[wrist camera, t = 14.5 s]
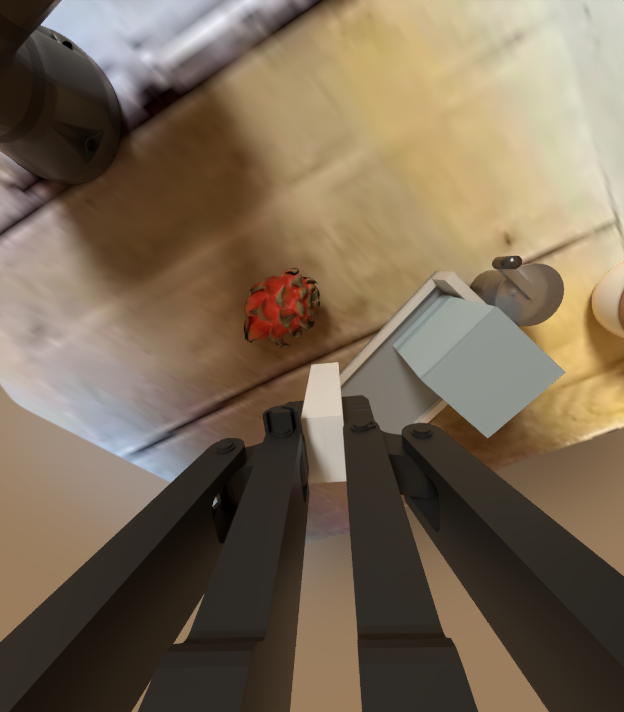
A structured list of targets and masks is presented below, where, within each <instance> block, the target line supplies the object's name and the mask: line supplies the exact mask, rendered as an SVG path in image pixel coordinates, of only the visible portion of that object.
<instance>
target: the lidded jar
mask: <svg viewBox="0 0 624 712" xmlns="http://www.w3.org/2000/svg"><path fill="white" fill-rule="evenodd" d="M591 301H592V310H593V313H594V316H595V318H596V319H597V321H598V322H599V323H600V324H601V325H602V326H603V327H604V328H605V329H606V330H608V331H609V332H611V333H613V334H614V335H616V336H619V337H621V338H623V339H624V261H622V262H621V263H619V264H617V265H616V266H614V267H613V268H611V269H610V270H609V271H608V272H607V273H606V274H604V275H603V277H602V278H601V279H600V280H599V282H598V283H597V285H596V286H595V288H594V290H593V293H592V298H591Z"/></svg>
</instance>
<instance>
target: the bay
mask: <svg viewBox="0 0 624 712" xmlns="http://www.w3.org/2000/svg"><path fill="white" fill-rule="evenodd" d="M441 295H450V296H452V297H456V298H460V299H464V300H469V301H473V302H478V303H482V304H486V303H485V302H484V301H483V300H482V299H481V298H480V297H479V296H478V295H477V294H476V293H475V292H474V291H472V290H471V289H470V288H469V287H468V286H467V285H466V284H465V283H464V282H463V281H462V280H461V279H460V278H459V277H458V276H457V275H456V274H455V273H454V272H440V271H435V272H434V274H433V275H432V276H431V277H430V278H429V279H428V280H427V281H426V282H425V283H424V284H423V285H422V286H421V287H420V288H419V289H418V291H417V292H416V293H415V294H414V295H413V296H412V297H411V298H410V299H409V300H408V301H407V302H406V303H405V304H404V305H403V306H402V308H401V309H400V310H399V311H398V312H397V313H396V314H395V315H394V316H393V317H392V318H391V319H390V320H389V321H388V322H387V324H386V325H385V326H384V327H383V328H382V329H381V330H380V331H379V332H378V333H377V334H376V335H375V336H374V337H373V338H372V339H371V341H370V342H369V343H368V344H367V345H366V346H365V347H364V348H363V349H362V350H361V351H360V352H359V353H358V354H357V355H356V356H355V358H354V359H353V360H352V361H351V362H350V363H349V364H348V365H347V366H346V367H345V368H344V369H343V370H342V371H341V372H340V374H339V376H340V386H341V397H345V396H357V395H363V396H365V397H366V398H368V400H369V403H370V406H371V410H372V413H373V416H374V420H375V422H377V423H378V425H379V426H380V430H382V431H384V432H387V433H392V434H400V435H402V434H401V432H402V429H403V428H404V427H405V426H407V425H410V424H413V423H428V422H429V421H430V420H431V419H433V418H434V417H435V416H436V415H437V414H438V413H439V412H440V411H441V410H442V409H443V408H445V407H446V406H447V405H448V403H447V402H446V401H444V400H443V399H442V398H441V397H440V396H439V395H438V394H436V393H435V392H434V391H433V390H432V389H431V388H430V387H428V386H427V385H426V384H425V383H424V382H423V381H422V380H421V379H420V378H419V377H418V376H417V374H416V373H415V372H414V371H413V369H412V368H411V367H410V366H409V365H408V363H407V362H406V361H405V360H404V359H403V357H402V356H401V355H400V354H399V352H397V350H396V349H395V348H394V346H393V345H394V343H395V342H396V341H397V340H398V339H399V338H400V337H401V336H402V335H403V334H404V333H405V332H406V331H407V330H408V329H409V328H410V327H411V326H412V325H413V324H414V323H415V322H416V321H417V320H418V319H419V318H420V317H421V316H422V315H423V314H424V312H425V311H426V310H427V309H428V308H429V307H430V306H431V305H432V304H433V303H434V302H435V301H436V300H437V299H438V298H439V297H440V296H441Z"/></svg>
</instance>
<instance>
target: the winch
mask: <svg viewBox="0 0 624 712" xmlns="http://www.w3.org/2000/svg"><path fill="white" fill-rule="evenodd" d="M521 264H522V259H521V258H520V257H519V256H505V257H497V258H495V259H494V260H493V262H492V266H493V268H495V269H497V270H498V271H495V270H493V271H486V272H483V273H482V274H480V275H479V276H477V277H476V278H475V280H474V281H473V283H472V285H471V288H470V289H471V290H472V291H474V292H475V293H476V294H477V295H478V296H479V297H480V298H481V299H482V300H483V301H484V302H485V303H486V304H487V305H491V306H496V307H498V308H499V309H500V310H501V311H502V312H503V313H504V314H505V315H507V316H508V317H509V318H510V319H511V320H512V321H513V322H514V323H515V324H516V325H519V326H533V325H537V324H539V323H542V322H544V321H545V320H547V319H548V318H550V317H551V316H552V315H553V314H554V313H555V312H556V310H557V309H558V307H559V306H560V304H561V302H562V299H563V295H564V284H563V281H562V278H561V276H560V275H559V273H558V272H557V271H556V270H555V269H553V268H552V267H550V266H548V265H544V264H525V265H521Z"/></svg>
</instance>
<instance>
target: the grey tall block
mask: <svg viewBox="0 0 624 712" xmlns="http://www.w3.org/2000/svg"><path fill="white" fill-rule="evenodd" d="M393 346H394V348H395V349H396V350H397V352H399V354H400V355H401V356H402V357H403V359H404V360H405V361H406V362H407V363H408V365H409V366H410V367H411V368H412V369H413V371H414V372H415V373H416V374H417V376H418V377H419V378H420V379H421V380H422V381H423V382H424V383H425V384H426V385H427V386H428V387H430V388H431V389H432V390H433V391H434V392H435V393H436V394H438V395H439V396H440V397H441V398H442V399H443V400H444V401H446V402H447V403H448V404H449V405H450V406H451V407H452V408H454V409H455V410H456V411H457V412H458V413H459V414H460V415H462V416H463V417H464V418H465V419H466V420H467V421H468V422H470V423H471V424H472V425H473V426H474V427H475V428H476V429H477V430H479V431H480V432H481V433H482V434H483V435H484V436H485V437H487V438H489V437H490V436H491V435H492V434H494V433H495V432H496V431H497V430H498V429H500V428H501V427H502V426H503V425H504V424H505V423H507V422H508V421H509V420H510V419H511V418H513V417H514V416H515V415H516V414H517V413H518V412H520V411H521V410H522V409H523V408H524V407H526V406H527V405H528V404H529V403H530V402H531V401H533V400H534V399H535V398H536V397H537V396H539V395H540V394H541V393H542V392H543V391H544V390H546V389H547V388H548V387H549V386H550V385H551V384H553V383H554V382H555V381H556V380H557V379H559V378H560V377H561V376H562V375H563V374H564V373H566V372H565V371H564V370H563V369H562V368H561V367H559V366H558V365H557V364H556V363H555V362H554V361H553V360H552V359H551V358H550V357H549V356H548V355H547V354H546V353H545V352H544V351H543V350H542V349H541V348H540V347H539V346H538V345H537V344H536V343H535V342H534V341H532V340H531V339H530V338H529V337H528V336H527V335H526V334H525V333H524V332H523V331H522V330H521V329H520V328H519V327H518V326H517V325H516V324H515V323H514V322H513V321H512V320H511V319H510V318H509V317H508V316H507V315H505V314H504V313H503V312H502V311H501V310H500V309H499V308H498V307H496V306H491V305H487V304H482V303H478V302H473V301H469V300H464V299H460V298H456V297H452V296H450V295H441V296H440V297H439V298H438V299H437V300H436V301H435V302H434V303H433V304H432V305H431V306H430V307H429V308H428V309H427V310H426V311H425V312H424V314H423V315H422V316H421V317H420V318H419V319H418V320H417V321H416V322H415V323H414V324H413V325H412V326H411V327H410V328H409V329H408V330H407V331H406V332H405V333H404V334H403V335H402V336H401V337H400V338H399V339H398V340H397V341H396V342H395V343H394V345H393Z"/></svg>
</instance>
